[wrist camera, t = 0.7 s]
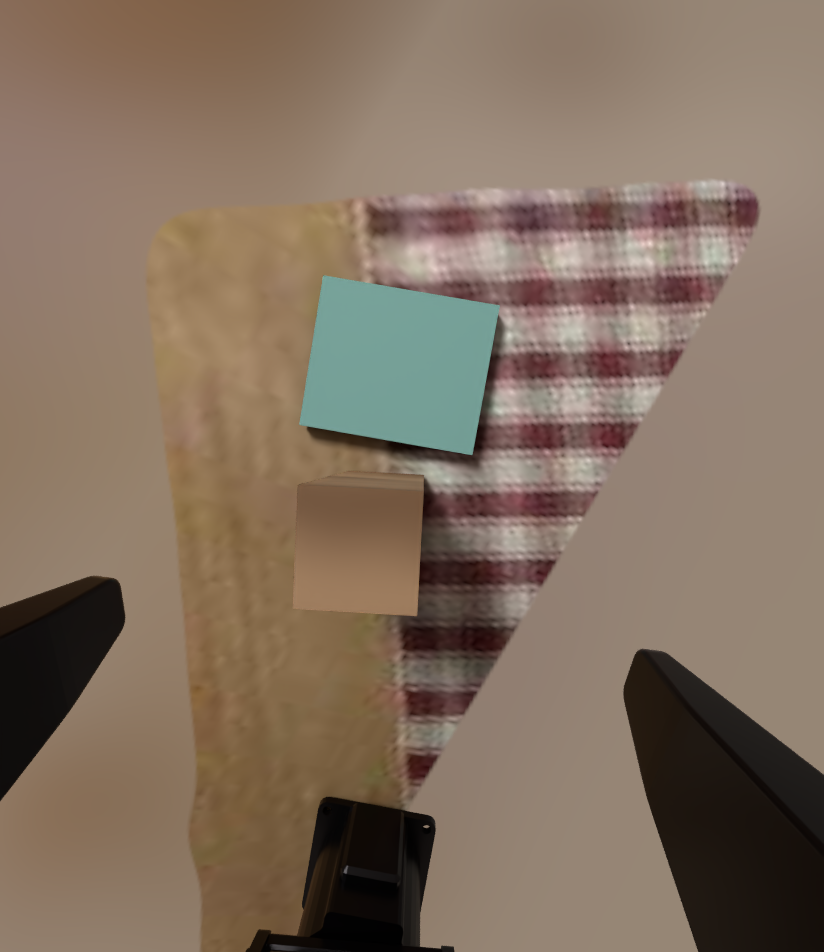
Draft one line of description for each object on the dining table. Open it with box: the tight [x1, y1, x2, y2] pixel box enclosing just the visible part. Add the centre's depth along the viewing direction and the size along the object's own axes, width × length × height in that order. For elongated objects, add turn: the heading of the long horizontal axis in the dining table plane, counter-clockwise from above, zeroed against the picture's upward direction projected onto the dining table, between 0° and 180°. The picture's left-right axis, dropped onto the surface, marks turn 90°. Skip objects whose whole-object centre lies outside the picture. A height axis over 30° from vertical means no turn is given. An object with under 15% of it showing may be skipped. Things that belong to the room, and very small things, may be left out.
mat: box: [299, 275, 500, 455], centre depth 24 cm, size 8×9×1 cm
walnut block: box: [293, 471, 424, 616], centre depth 20 cm, size 4×4×10 cm
